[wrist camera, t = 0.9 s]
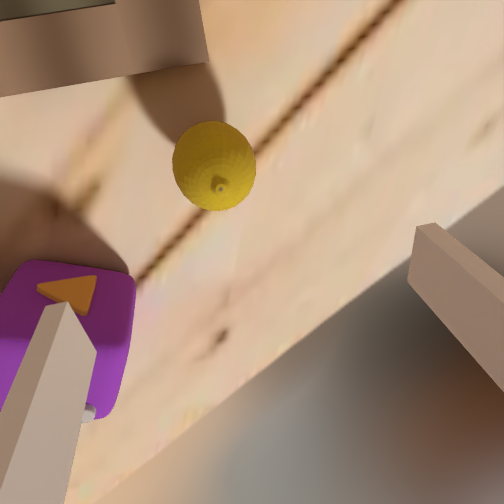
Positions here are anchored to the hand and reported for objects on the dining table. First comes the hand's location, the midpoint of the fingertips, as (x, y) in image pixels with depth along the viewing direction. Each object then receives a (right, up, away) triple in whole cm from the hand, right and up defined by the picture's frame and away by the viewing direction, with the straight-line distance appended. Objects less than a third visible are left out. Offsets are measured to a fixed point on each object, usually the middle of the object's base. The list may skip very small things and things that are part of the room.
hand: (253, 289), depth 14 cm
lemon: (-3, +10, +14) cm, 17 cm away
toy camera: (-18, -3, +19) cm, 26 cm away
